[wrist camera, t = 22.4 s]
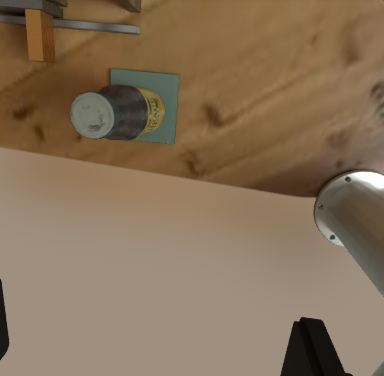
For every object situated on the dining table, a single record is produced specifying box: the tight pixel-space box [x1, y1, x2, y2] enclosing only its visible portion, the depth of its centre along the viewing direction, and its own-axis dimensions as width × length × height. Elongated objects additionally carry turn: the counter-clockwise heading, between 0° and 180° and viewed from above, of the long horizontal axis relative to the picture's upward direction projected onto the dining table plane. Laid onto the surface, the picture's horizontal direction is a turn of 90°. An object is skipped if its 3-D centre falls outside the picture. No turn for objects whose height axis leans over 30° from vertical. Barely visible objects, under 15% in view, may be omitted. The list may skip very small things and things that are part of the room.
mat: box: [111, 69, 180, 145], centre depth 45 cm, size 10×10×1 cm
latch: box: [0, 0, 63, 63], centre depth 41 cm, size 11×7×5 cm, turn 85°
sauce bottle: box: [70, 84, 165, 140], centre depth 35 cm, size 6×6×20 cm
